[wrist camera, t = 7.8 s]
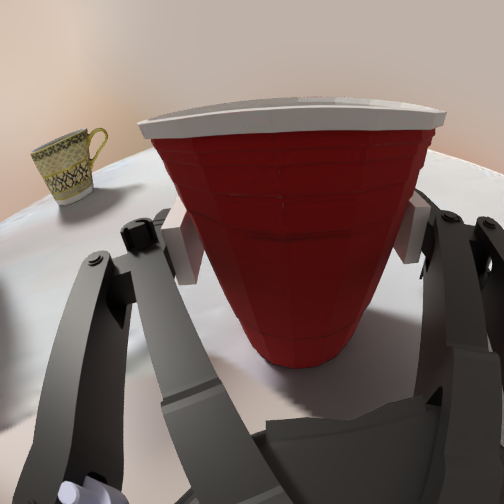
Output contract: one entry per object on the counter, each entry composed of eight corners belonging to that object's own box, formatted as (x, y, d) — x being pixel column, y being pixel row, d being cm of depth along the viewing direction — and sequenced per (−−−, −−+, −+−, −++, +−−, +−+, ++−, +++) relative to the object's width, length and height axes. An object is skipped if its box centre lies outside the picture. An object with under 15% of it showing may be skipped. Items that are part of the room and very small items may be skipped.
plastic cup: (381, 265, 19) (396, 86, 12) (404, 410, 11) (519, 134, 4) (229, 262, 21) (199, 92, 15) (178, 395, 13) (60, 148, 6)
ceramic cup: (44, 218, 35) (22, 158, 30) (56, 196, 43) (39, 146, 37) (120, 189, 39) (102, 124, 33) (120, 172, 47) (106, 119, 41)
